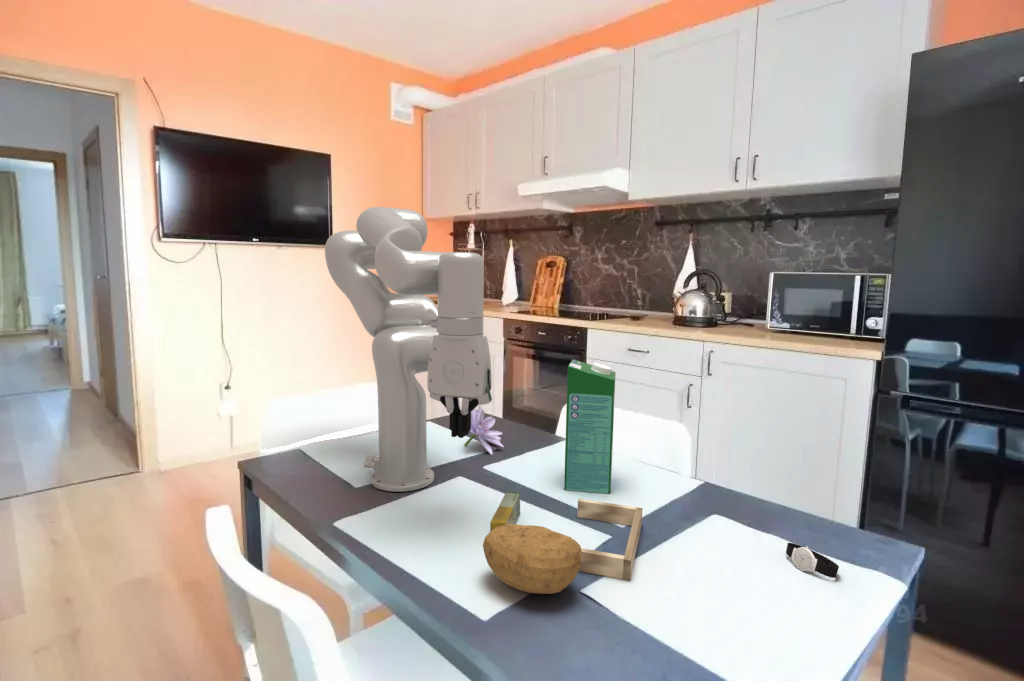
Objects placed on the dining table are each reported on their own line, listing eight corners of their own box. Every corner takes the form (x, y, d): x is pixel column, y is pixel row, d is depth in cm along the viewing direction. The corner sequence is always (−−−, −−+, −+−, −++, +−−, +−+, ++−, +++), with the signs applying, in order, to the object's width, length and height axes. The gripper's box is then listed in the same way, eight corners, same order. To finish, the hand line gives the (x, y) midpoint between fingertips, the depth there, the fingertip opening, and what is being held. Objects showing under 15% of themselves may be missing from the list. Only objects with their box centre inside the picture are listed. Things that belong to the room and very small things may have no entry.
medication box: (506, 512, 97) (505, 491, 97) (520, 513, 97) (520, 492, 96) (490, 545, 85) (489, 521, 85) (506, 546, 85) (506, 522, 84)
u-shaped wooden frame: (553, 566, 79) (554, 546, 79) (578, 514, 96) (579, 498, 96) (629, 580, 76) (630, 560, 75) (641, 524, 93) (642, 508, 92)
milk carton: (610, 494, 105) (615, 368, 102) (564, 489, 107) (567, 365, 104) (611, 477, 114) (616, 360, 111) (568, 473, 116) (571, 358, 113)
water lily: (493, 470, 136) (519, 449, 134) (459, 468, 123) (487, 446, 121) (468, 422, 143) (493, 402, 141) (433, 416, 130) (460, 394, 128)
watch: (777, 558, 83) (779, 536, 82) (798, 552, 85) (800, 530, 84) (824, 585, 76) (826, 561, 75) (846, 578, 78) (848, 554, 77)
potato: (501, 556, 82) (502, 506, 80) (590, 581, 75) (592, 527, 74) (467, 590, 73) (468, 534, 72) (565, 621, 67) (567, 560, 66)
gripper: (408, 327, 88) (409, 436, 90) (495, 332, 83) (494, 447, 86) (430, 323, 95) (430, 424, 98) (511, 327, 91) (509, 434, 93)
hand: (460, 434), depth 92 cm, fingers closed
